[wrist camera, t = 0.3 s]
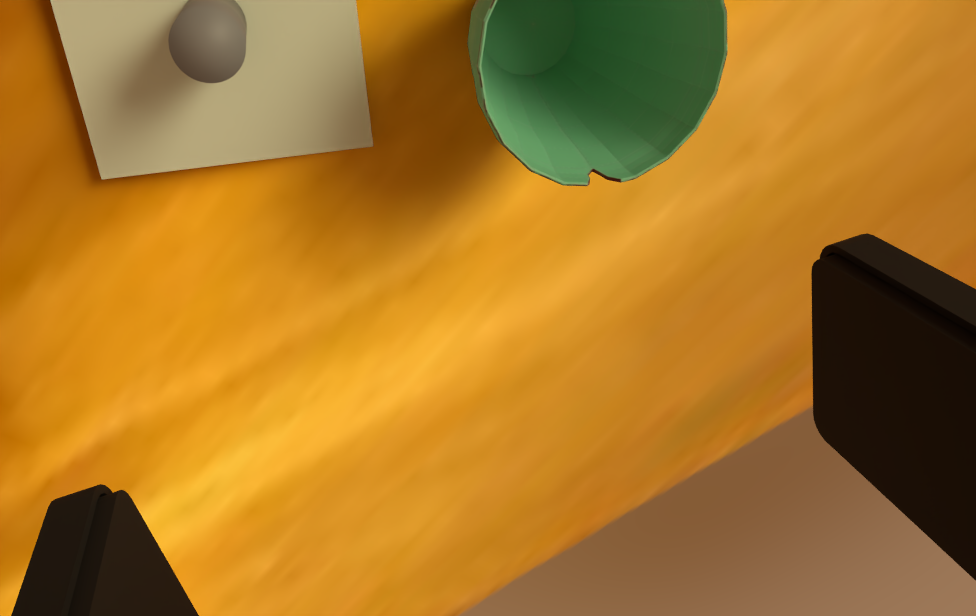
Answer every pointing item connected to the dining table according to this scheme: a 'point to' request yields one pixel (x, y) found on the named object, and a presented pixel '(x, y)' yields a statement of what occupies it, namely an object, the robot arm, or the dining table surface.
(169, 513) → the dining table surface
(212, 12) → the square base peg stand
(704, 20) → the mug
